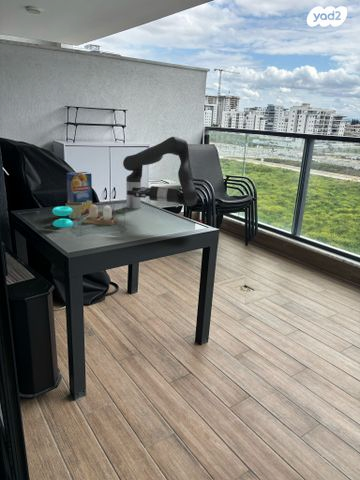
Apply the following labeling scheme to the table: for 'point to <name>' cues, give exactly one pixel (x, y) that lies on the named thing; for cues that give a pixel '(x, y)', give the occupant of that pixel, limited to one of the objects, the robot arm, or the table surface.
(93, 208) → the brown egg
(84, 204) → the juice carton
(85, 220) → the egg holder
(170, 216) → the table surface
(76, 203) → the flower pot
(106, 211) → the cream egg
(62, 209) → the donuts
